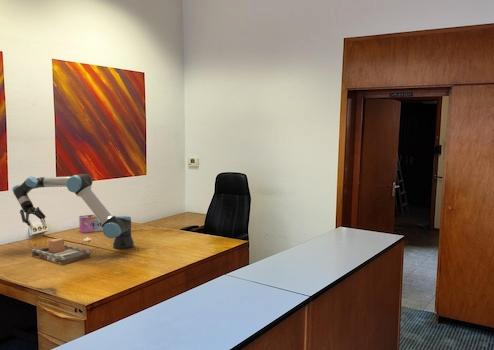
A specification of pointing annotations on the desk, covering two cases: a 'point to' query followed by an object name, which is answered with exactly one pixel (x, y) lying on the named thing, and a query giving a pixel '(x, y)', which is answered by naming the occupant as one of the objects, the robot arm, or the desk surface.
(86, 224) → the gum box
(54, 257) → the rail track section
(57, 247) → the terracotta block
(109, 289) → the desk surface
